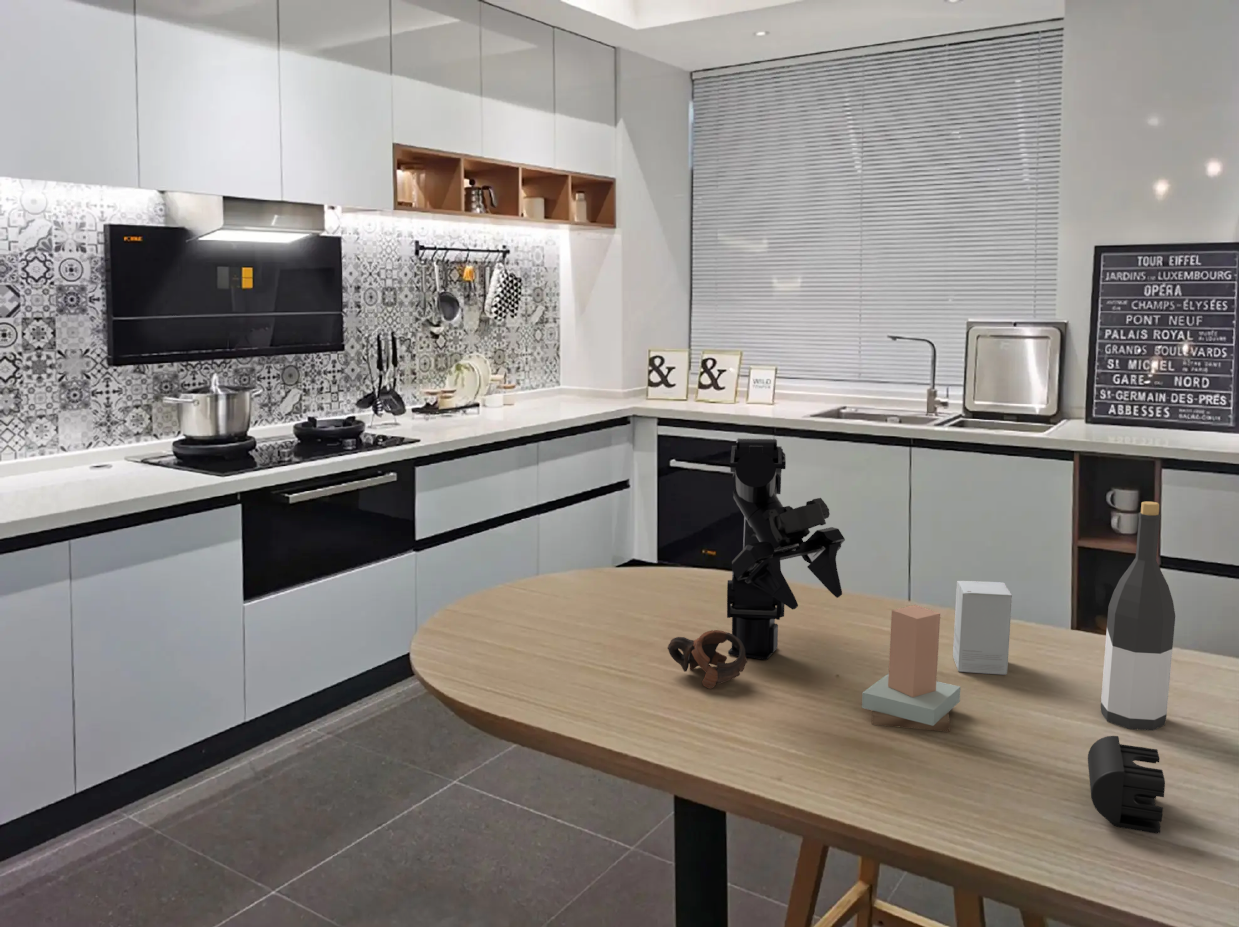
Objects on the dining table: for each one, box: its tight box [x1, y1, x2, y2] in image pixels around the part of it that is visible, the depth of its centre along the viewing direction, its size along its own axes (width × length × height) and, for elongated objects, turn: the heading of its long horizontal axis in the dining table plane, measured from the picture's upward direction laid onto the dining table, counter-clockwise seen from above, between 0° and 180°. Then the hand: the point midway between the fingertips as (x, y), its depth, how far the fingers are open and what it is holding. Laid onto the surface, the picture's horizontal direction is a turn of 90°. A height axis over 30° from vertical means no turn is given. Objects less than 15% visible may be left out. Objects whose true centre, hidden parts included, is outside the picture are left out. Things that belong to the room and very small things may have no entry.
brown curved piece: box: [667, 629, 748, 690], centre depth 159 cm, size 12×10×8 cm
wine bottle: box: [1100, 500, 1176, 731], centre depth 141 cm, size 8×8×30 cm
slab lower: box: [871, 710, 951, 733], centre depth 146 cm, size 10×10×2 cm
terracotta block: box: [888, 604, 941, 697], centre depth 144 cm, size 4×4×11 cm
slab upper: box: [861, 672, 961, 726], centre depth 145 cm, size 10×10×2 cm
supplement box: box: [952, 580, 1013, 676], centre depth 163 cm, size 7×7×13 cm
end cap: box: [1087, 735, 1166, 834], centre depth 119 cm, size 10×7×7 cm
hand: (818, 601), depth 151 cm, fingers open, 9 cm apart
